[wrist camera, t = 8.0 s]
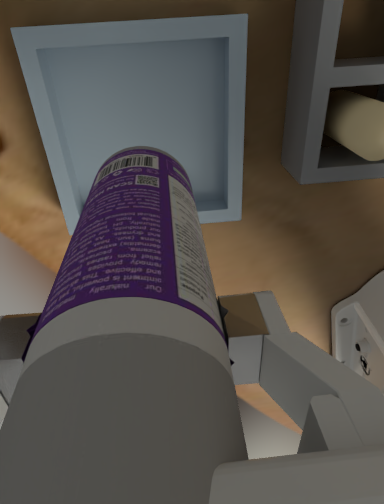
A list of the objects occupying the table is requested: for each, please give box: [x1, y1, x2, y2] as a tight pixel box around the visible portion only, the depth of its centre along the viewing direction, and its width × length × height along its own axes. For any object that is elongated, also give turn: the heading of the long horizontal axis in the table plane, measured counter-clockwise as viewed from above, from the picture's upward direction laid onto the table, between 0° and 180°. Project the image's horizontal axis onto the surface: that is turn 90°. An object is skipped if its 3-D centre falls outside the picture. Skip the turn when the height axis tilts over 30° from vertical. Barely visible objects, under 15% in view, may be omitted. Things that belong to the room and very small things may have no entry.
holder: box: [281, 0, 384, 185], centre depth 22 cm, size 22×9×7 cm, turn 3°
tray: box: [10, 14, 248, 235], centre depth 27 cm, size 15×15×3 cm
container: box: [0, 146, 249, 504], centre depth 10 cm, size 5×5×15 cm
